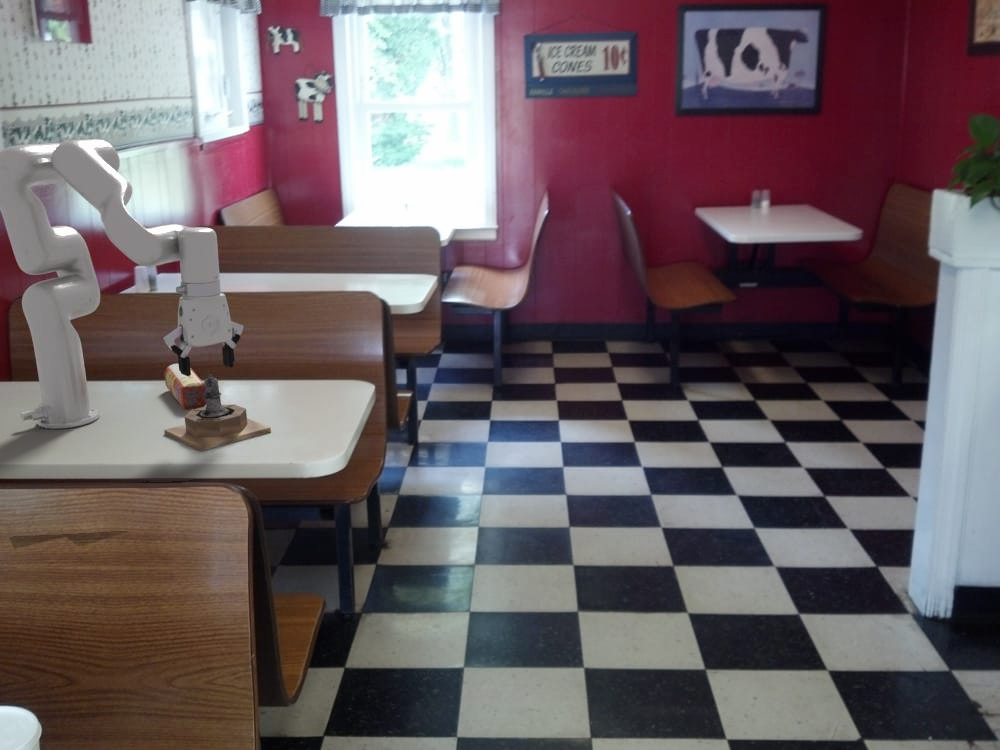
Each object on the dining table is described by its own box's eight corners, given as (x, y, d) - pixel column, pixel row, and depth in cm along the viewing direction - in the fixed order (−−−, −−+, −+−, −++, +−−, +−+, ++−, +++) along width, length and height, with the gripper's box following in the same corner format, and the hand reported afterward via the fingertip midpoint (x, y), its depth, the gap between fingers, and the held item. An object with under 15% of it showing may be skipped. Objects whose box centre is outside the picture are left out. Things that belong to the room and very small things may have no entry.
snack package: (210, 408, 233) (207, 379, 231) (181, 412, 230) (177, 384, 229) (193, 387, 252) (190, 360, 250) (165, 391, 249) (162, 364, 247)
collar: (201, 450, 203) (198, 429, 202) (164, 434, 214) (162, 413, 213) (271, 431, 214) (269, 411, 213) (232, 417, 225) (230, 397, 224)
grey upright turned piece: (234, 423, 216) (228, 369, 213) (225, 432, 211) (218, 377, 208) (208, 424, 217) (201, 369, 214) (197, 432, 211) (190, 377, 208)
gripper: (169, 297, 198) (177, 382, 203) (248, 286, 209) (253, 366, 214) (152, 292, 203) (159, 374, 208) (230, 281, 215) (235, 359, 219)
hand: (207, 370), depth 211 cm, fingers open, 9 cm apart
